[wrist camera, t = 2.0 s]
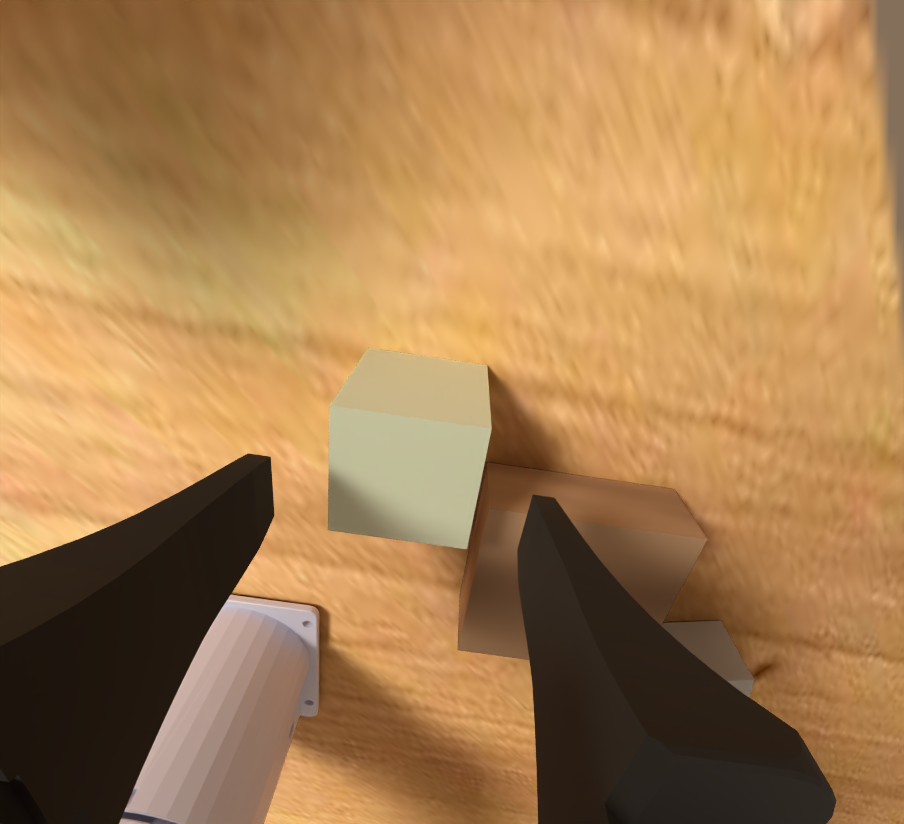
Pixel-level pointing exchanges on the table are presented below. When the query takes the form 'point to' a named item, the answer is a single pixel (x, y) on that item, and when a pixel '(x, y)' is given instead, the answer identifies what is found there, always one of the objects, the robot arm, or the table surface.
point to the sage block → (408, 448)
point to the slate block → (714, 650)
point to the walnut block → (600, 524)
